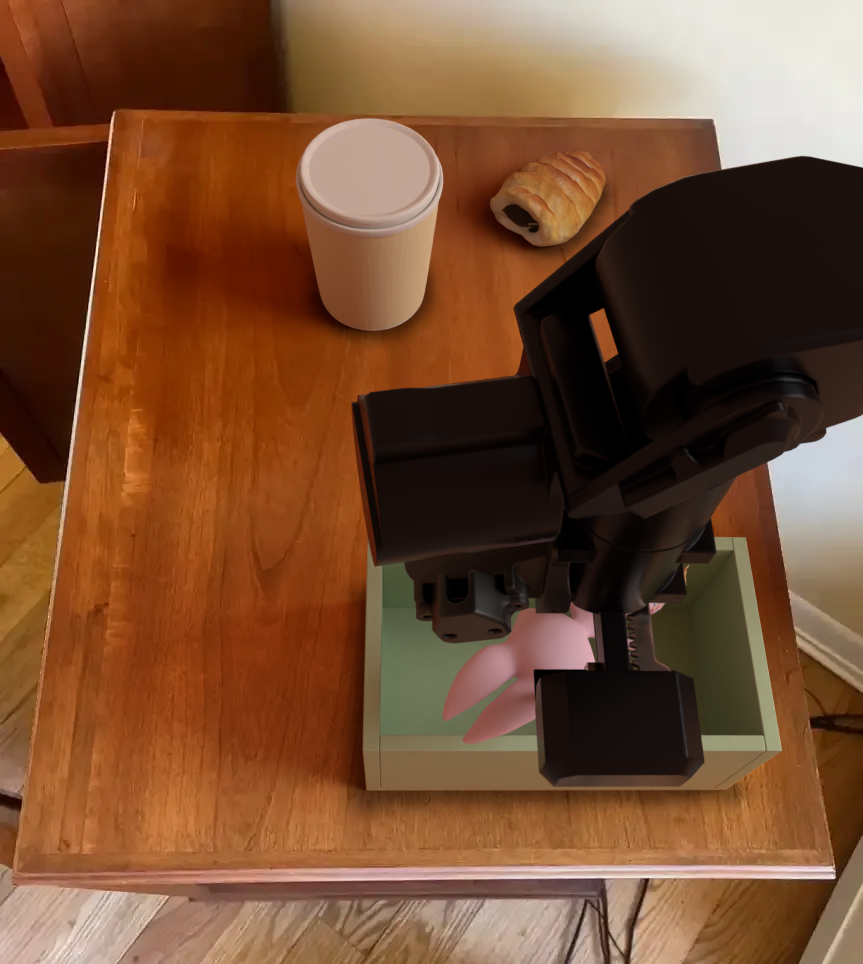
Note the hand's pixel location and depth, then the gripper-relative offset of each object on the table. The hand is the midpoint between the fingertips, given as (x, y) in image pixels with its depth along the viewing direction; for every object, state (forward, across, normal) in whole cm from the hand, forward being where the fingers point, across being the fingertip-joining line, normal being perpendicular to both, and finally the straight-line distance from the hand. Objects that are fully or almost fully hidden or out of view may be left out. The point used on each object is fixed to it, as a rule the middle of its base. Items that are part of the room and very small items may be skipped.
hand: (569, 626), depth 51 cm
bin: (+11, 0, 0) cm, 11 cm away
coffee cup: (+11, -30, -10) cm, 34 cm away
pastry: (+11, -38, +3) cm, 40 cm away
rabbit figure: (+2, +1, 0) cm, 2 cm away
